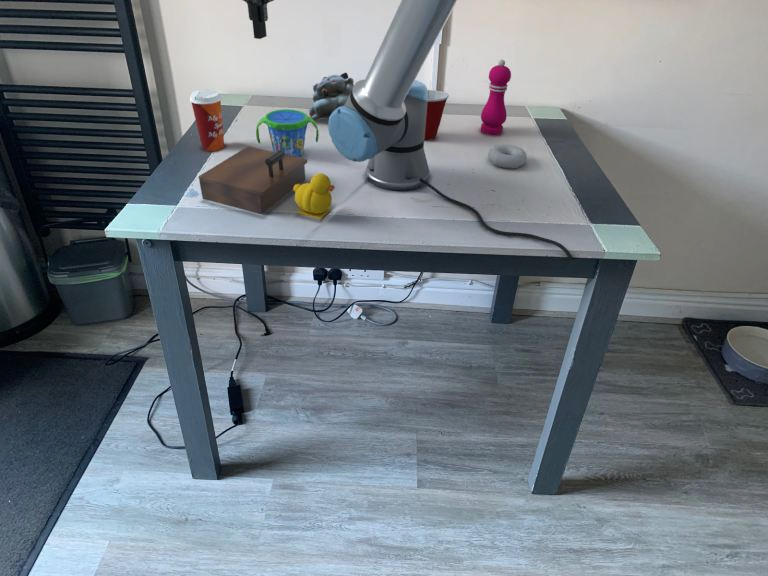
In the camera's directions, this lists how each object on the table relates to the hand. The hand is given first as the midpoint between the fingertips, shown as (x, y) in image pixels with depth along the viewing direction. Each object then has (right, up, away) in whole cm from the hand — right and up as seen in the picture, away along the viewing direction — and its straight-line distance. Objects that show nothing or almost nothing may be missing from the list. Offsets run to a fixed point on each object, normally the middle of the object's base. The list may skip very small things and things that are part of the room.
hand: (260, 37), depth 121 cm
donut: (+59, -22, +24) cm, 67 cm away
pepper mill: (+58, -9, +40) cm, 71 cm away
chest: (-2, -33, +6) cm, 33 cm away
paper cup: (-18, -18, +25) cm, 36 cm away
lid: (-2, -29, +3) cm, 29 cm away
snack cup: (+2, -20, +23) cm, 31 cm away
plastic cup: (+39, -7, +32) cm, 51 cm away
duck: (+12, -39, -1) cm, 40 cm away
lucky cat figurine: (+11, -4, +45) cm, 47 cm away
